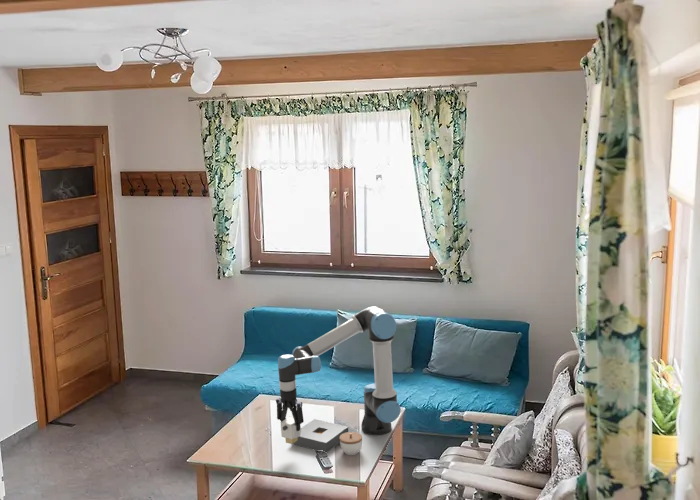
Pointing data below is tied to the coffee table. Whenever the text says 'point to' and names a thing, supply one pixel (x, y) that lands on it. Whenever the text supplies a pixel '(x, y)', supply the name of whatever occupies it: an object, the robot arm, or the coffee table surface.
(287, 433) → the plug
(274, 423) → the coffee table surface
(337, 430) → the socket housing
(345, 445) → the lidded jar
